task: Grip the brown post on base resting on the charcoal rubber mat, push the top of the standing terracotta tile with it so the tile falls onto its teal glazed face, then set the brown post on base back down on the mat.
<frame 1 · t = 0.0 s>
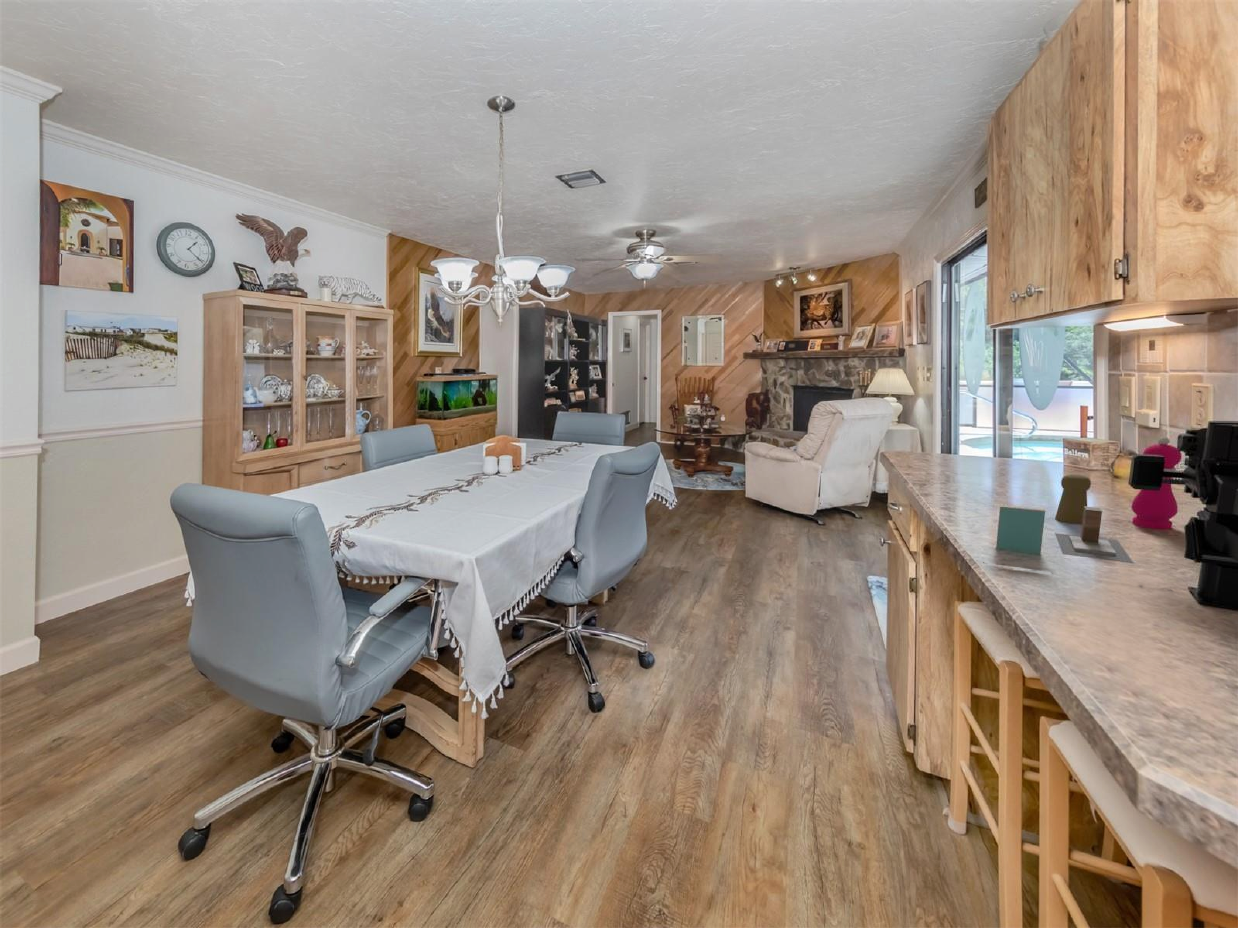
hand: (1189, 467, 102), 17 cm above the countertop, tool horizontal, fingers open, 9 cm apart
cork: (1070, 523, 126), on the countertop
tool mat: (1090, 549, 108), on the countertop
brown post on base: (1088, 542, 110), resting on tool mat
pepper mill: (1151, 528, 121), on the countertop
tile: (1017, 552, 107), on the countertop
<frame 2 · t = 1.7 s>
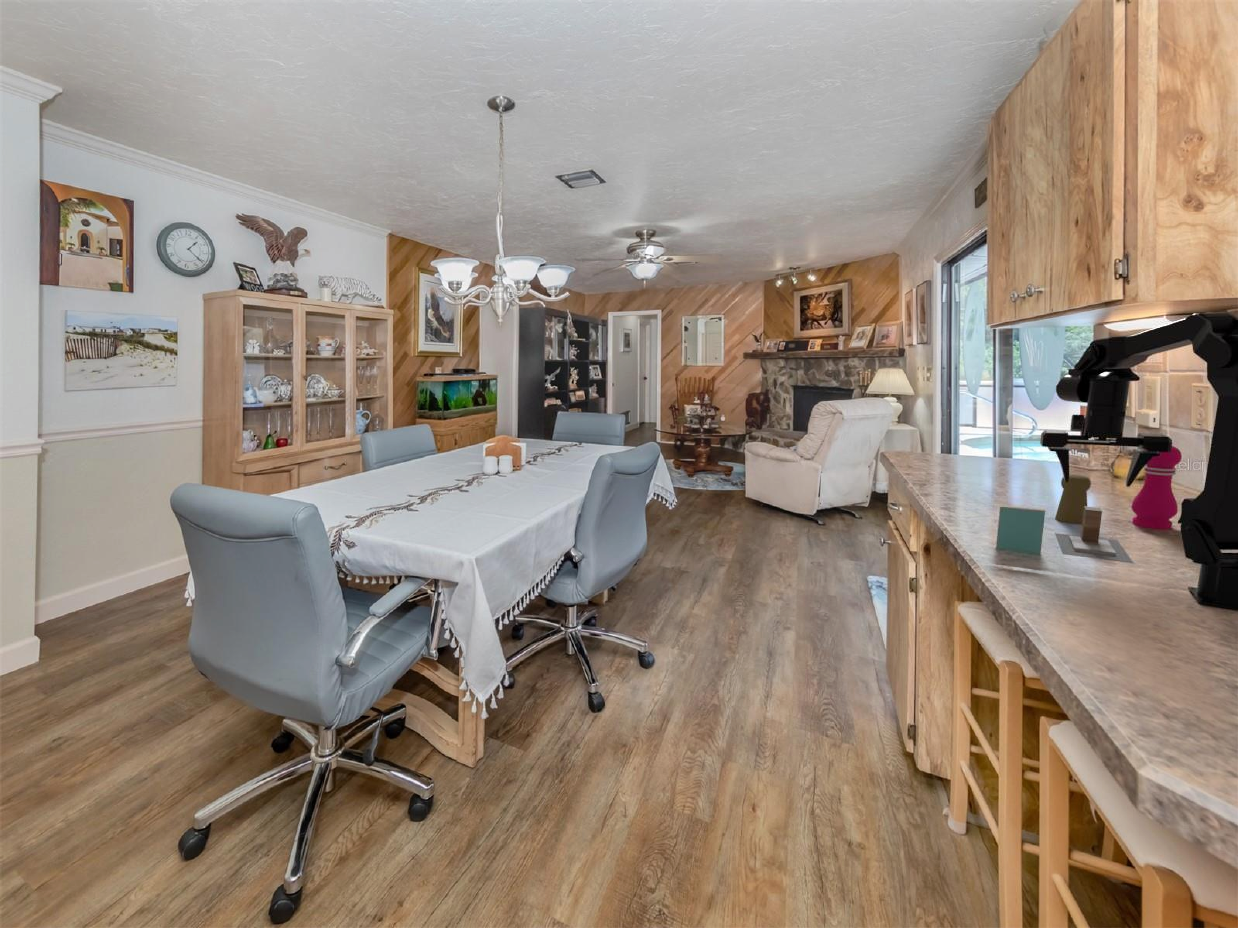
hand: (1096, 484, 108), 13 cm above the countertop, tool pointing down, fingers open, 9 cm apart
nothing on the countertop moved.
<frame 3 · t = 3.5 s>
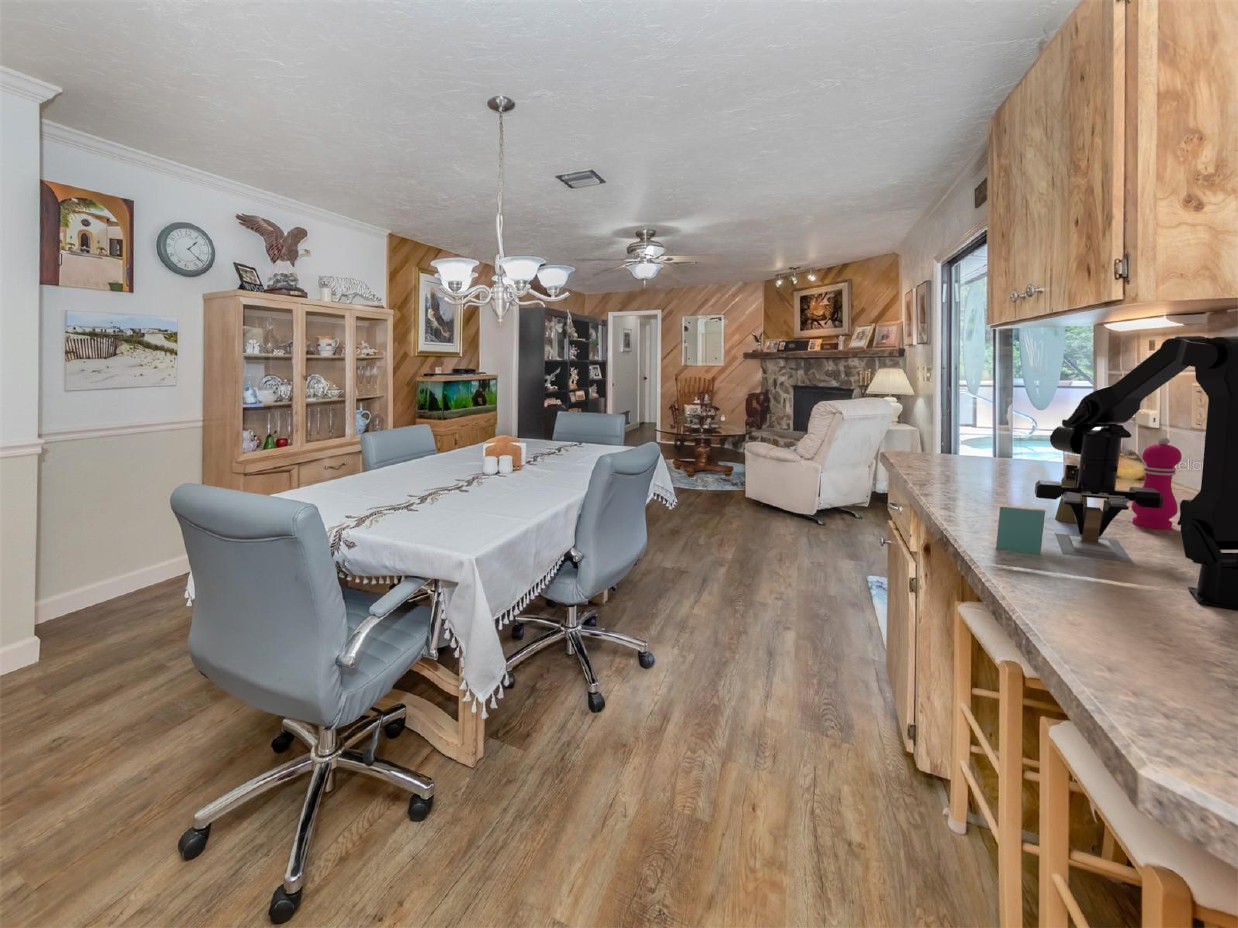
hand: (1089, 535, 110), 2 cm above the countertop, tool pointing down, fingers closed on brown post on base, 2 cm apart
brown post on base: (1088, 542, 110), resting on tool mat, touching gripper
everything else where it was.
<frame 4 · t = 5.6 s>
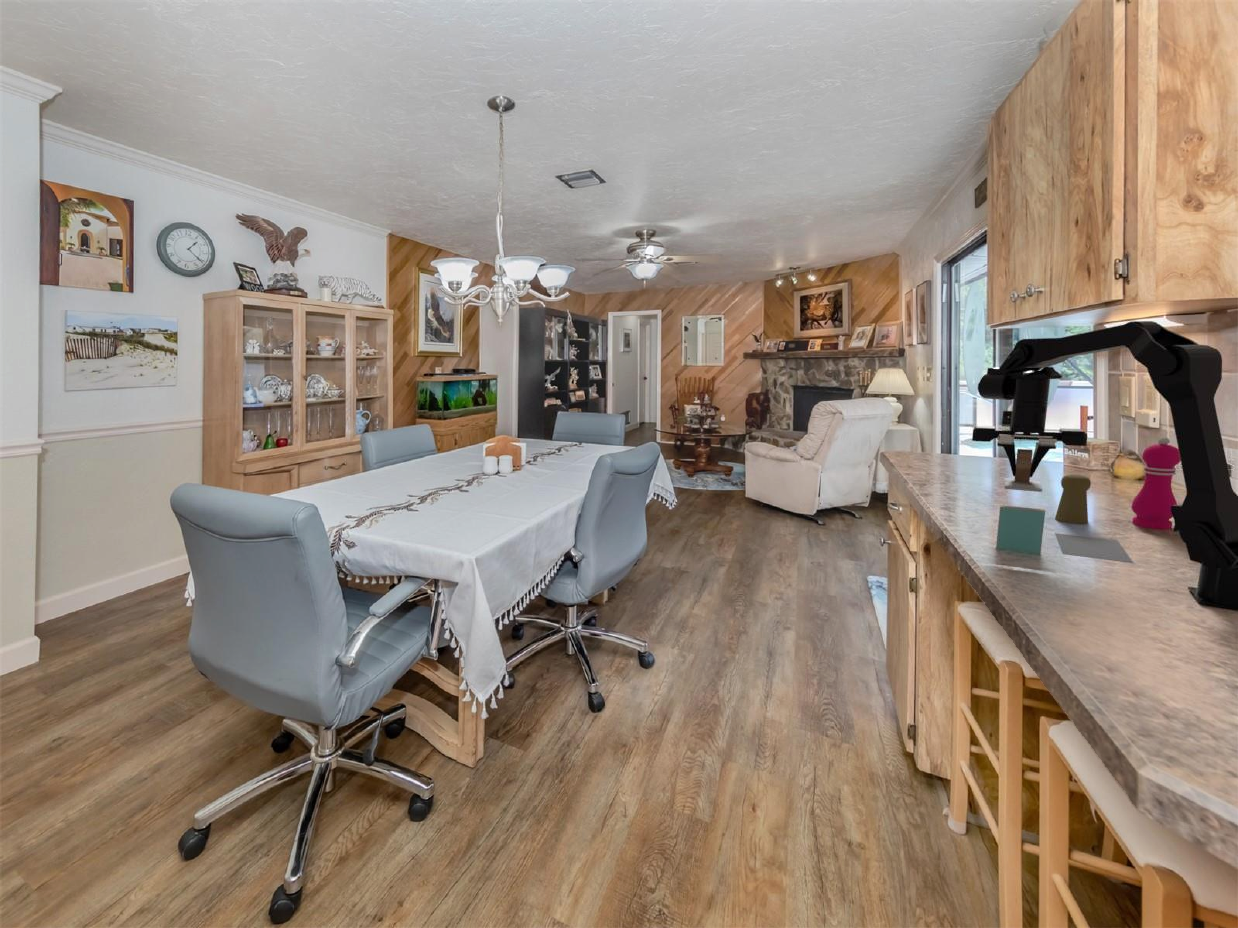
hand: (1022, 476, 115), 13 cm above the countertop, tool pointing down, fingers closed on brown post on base, 2 cm apart
brown post on base: (1021, 483, 115), point 11 cm above the countertop, touching gripper
everything else where it was.
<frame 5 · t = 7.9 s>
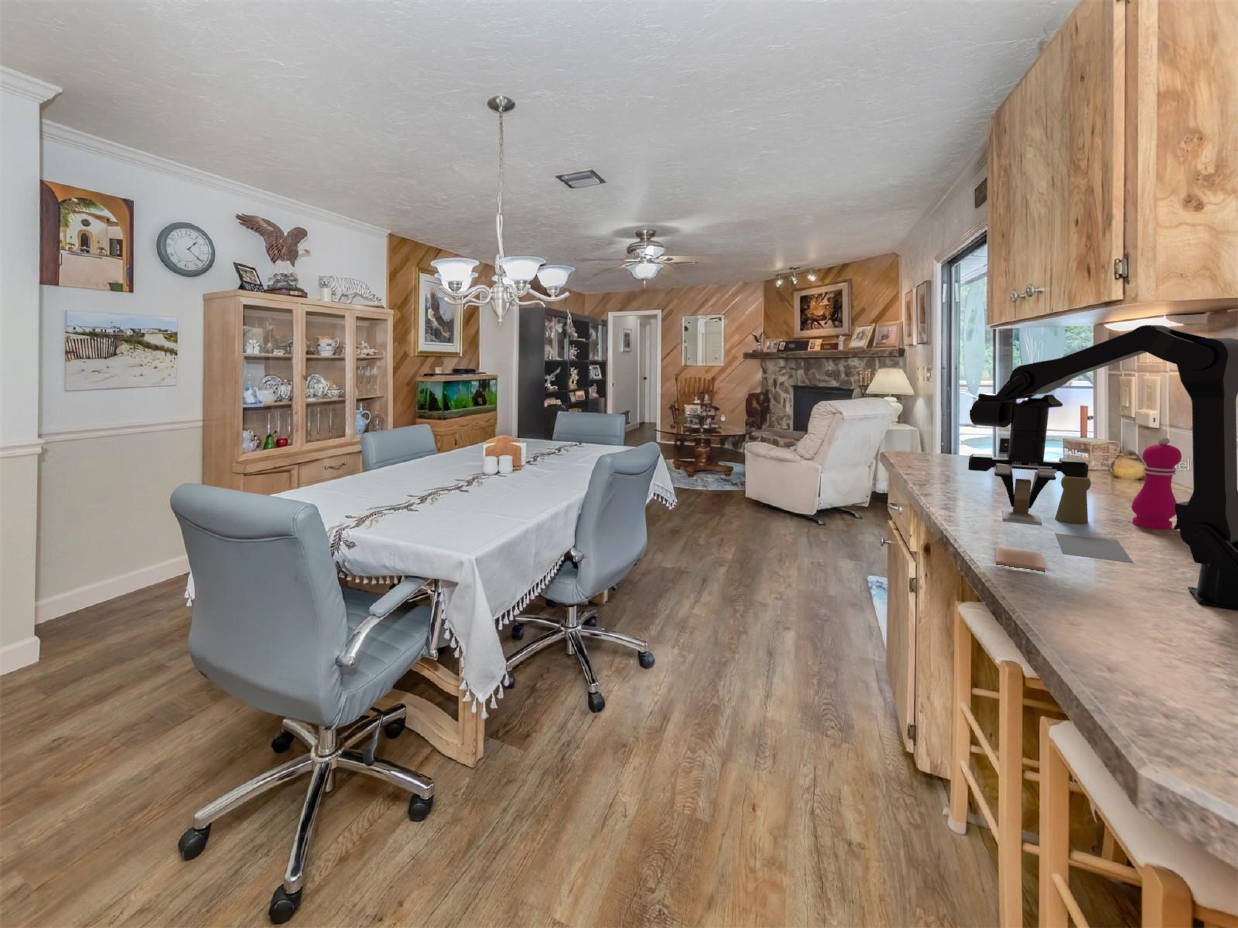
hand: (1020, 507, 110), 8 cm above the countertop, tool pointing down, fingers closed on brown post on base, 2 cm apart
brown post on base: (1020, 514, 110), point 6 cm above the countertop, touching gripper
tile: (1017, 552, 107), on the countertop, tilted 90°
everything else where it was.
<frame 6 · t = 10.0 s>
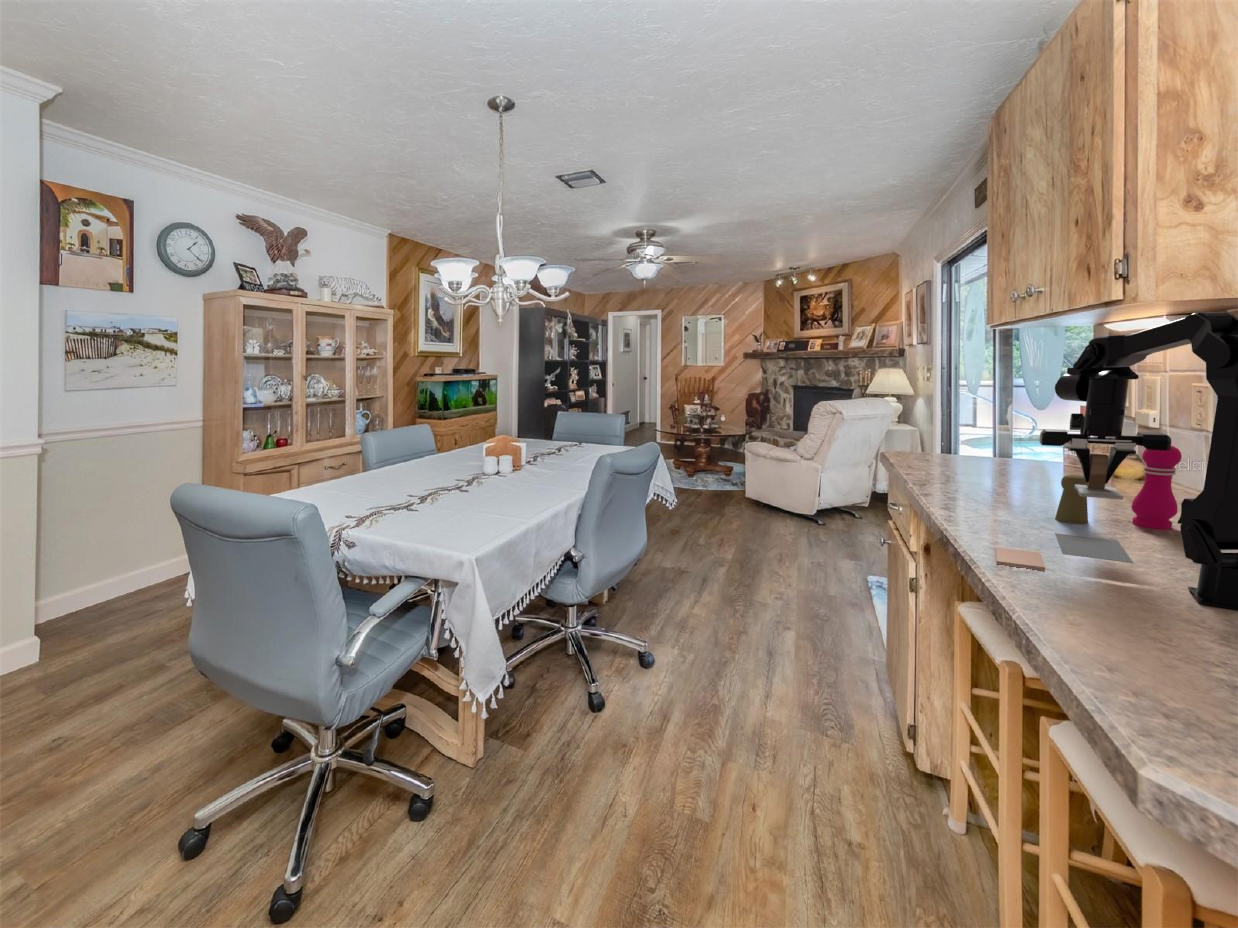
hand: (1095, 482, 108), 13 cm above the countertop, tool pointing down, fingers closed on brown post on base, 2 cm apart
brown post on base: (1094, 490, 109), point 11 cm above the countertop, touching gripper
everything else where it was.
when the fingers open (4 cm above the countertop, at t = 11.7 s): brown post on base drops 2 cm, resting on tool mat.
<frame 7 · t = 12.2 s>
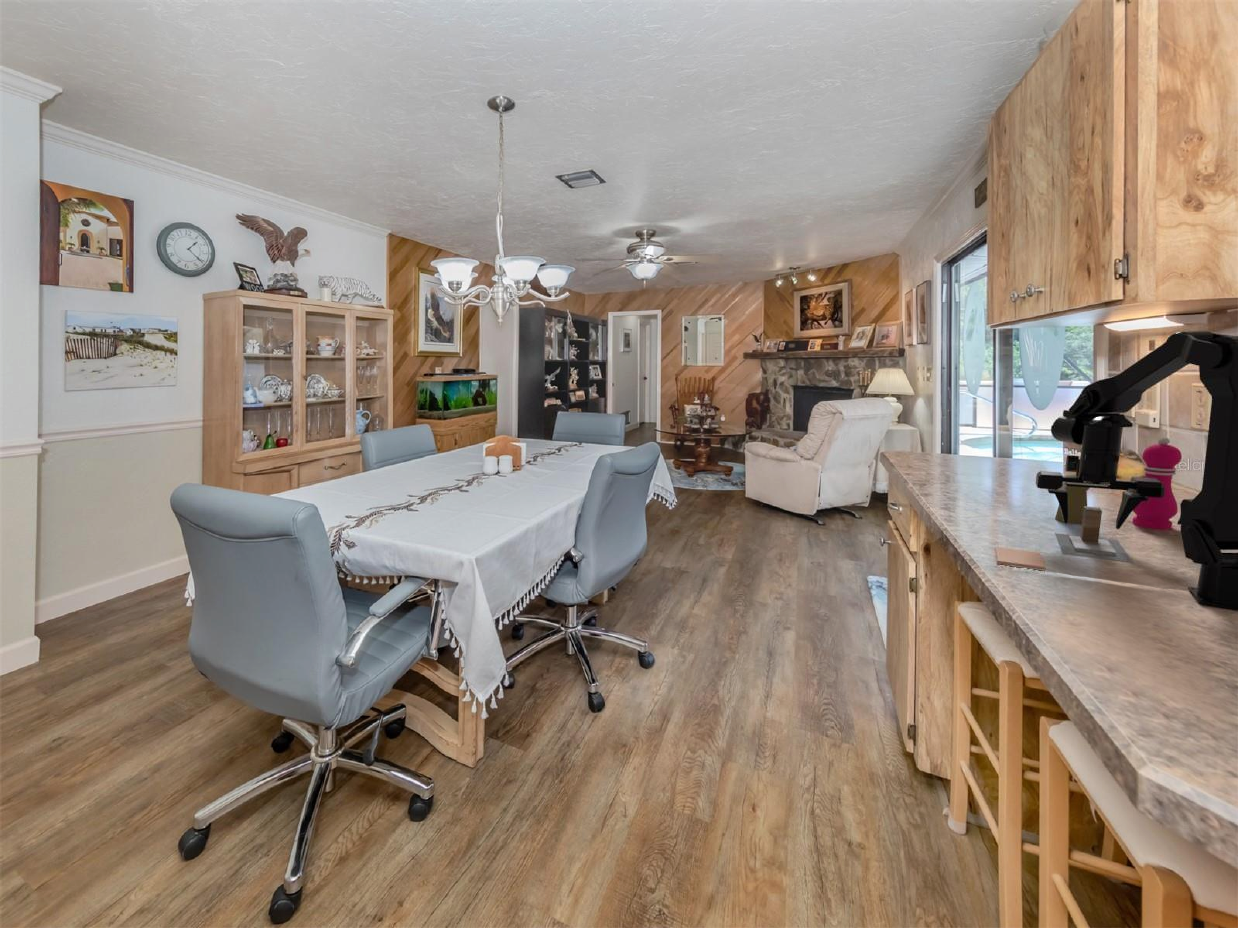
hand: (1090, 525, 110), 4 cm above the countertop, tool pointing down, fingers open, 8 cm apart
brown post on base: (1088, 542, 111), resting on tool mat
everything else where it was.
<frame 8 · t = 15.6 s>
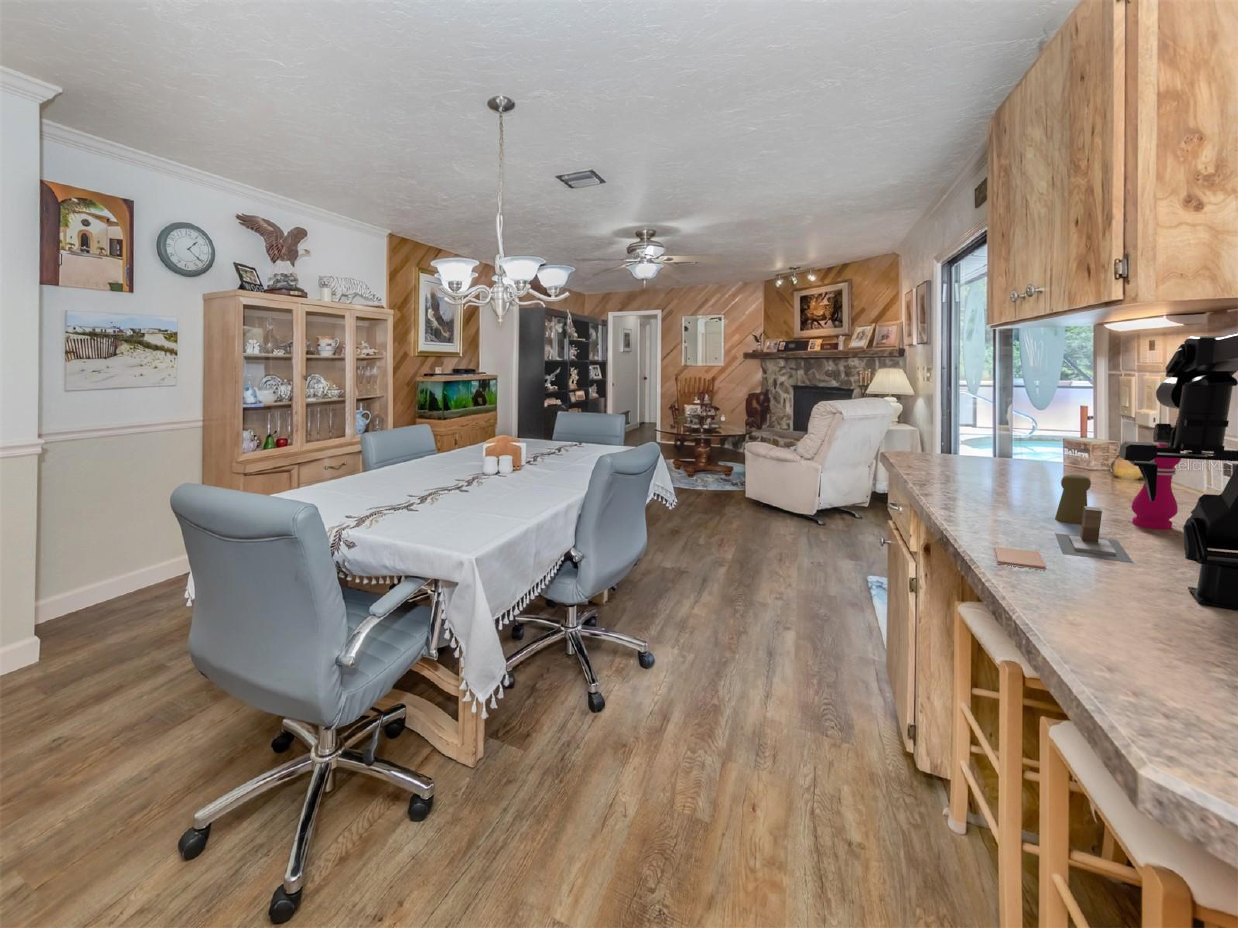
hand: (1188, 503, 94), 12 cm above the countertop, tool pointing down, fingers open, 9 cm apart
nothing on the countertop moved.
at the end: tile tilted 90°; brown post on base inside the target area on the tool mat (0.6 cm from its centre), point 0.5 cm above the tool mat's base; the gripper is holding nothing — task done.
